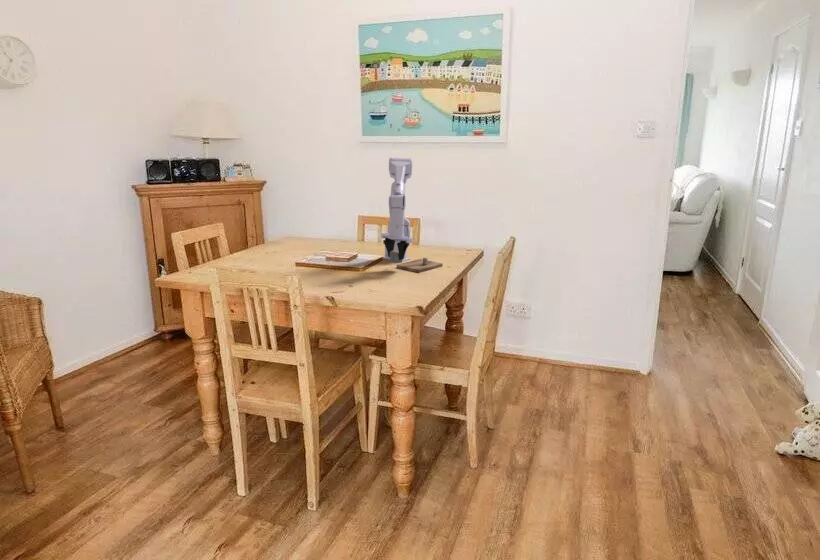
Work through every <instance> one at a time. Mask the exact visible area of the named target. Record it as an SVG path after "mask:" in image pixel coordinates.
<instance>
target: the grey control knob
mask: <svg viewBox="0 0 820 560" xmlns="http://www.w3.org/2000/svg"><path fill="white" fill-rule="evenodd" d="M389 263H392V264H402V263H403V261H402V260H399V251H390V260H389Z"/></svg>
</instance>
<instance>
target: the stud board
mask: <svg viewBox="0 0 820 560" xmlns="http://www.w3.org/2000/svg"><path fill="white" fill-rule="evenodd" d="M443 266H444V265H443V263H441V262H437V261H432V260H428V257H422V258H419V259H414V260H411V261H406V262H402V263H397V264H396V269H401V270H405V271H410V272H412V273H413V272H414V273H419V274H420V273H423V272H427V271H431V270H434V269H437V268H438V269H439V268H442V267H443Z"/></svg>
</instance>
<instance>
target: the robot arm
mask: <svg viewBox="0 0 820 560" xmlns="http://www.w3.org/2000/svg"><path fill="white" fill-rule="evenodd" d="M412 171H413V158H412V157H389V158H388V172H389V176H390V178H392V179H394V181H393V183H391V188H390V195H389V196H388V211H389V213H388V214H389V220H388V223H387V232H383V233H381V235H380V236H381V239H384V240H382V242H383V244H384V257H383V259H385V260H389V261H390V251H399V260H402V262H405V261H408V260H411V257H409V256H408V255H407V253H408V251H407V250H408V247H409V246H410V244H412V243H413V238H412V237H411V222H410V220H409V219H408V218H406V217H405V209H406V200H407V199H406V198H407V197H406V187H407V186H406V183H407V180H408V179H410V178H411V177H412V175H413V174H412Z"/></svg>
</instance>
